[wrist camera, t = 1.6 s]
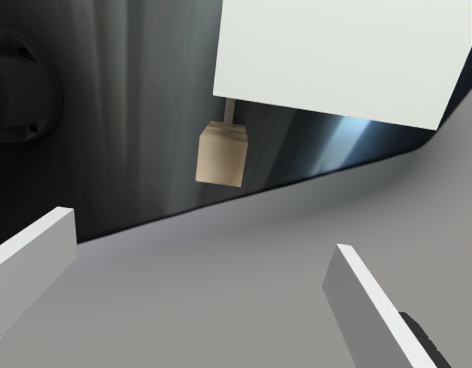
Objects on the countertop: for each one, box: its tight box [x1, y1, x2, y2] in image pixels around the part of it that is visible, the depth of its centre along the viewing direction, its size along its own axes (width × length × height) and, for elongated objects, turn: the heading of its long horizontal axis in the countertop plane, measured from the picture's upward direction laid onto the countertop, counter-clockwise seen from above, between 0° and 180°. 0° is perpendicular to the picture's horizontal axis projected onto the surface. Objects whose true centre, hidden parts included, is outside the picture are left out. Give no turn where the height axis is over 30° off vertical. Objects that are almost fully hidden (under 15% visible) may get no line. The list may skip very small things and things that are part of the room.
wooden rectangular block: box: [196, 97, 248, 187], centre depth 32 cm, size 5×15×12 cm, turn 171°
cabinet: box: [213, 0, 472, 130], centre depth 25 cm, size 16×14×20 cm
